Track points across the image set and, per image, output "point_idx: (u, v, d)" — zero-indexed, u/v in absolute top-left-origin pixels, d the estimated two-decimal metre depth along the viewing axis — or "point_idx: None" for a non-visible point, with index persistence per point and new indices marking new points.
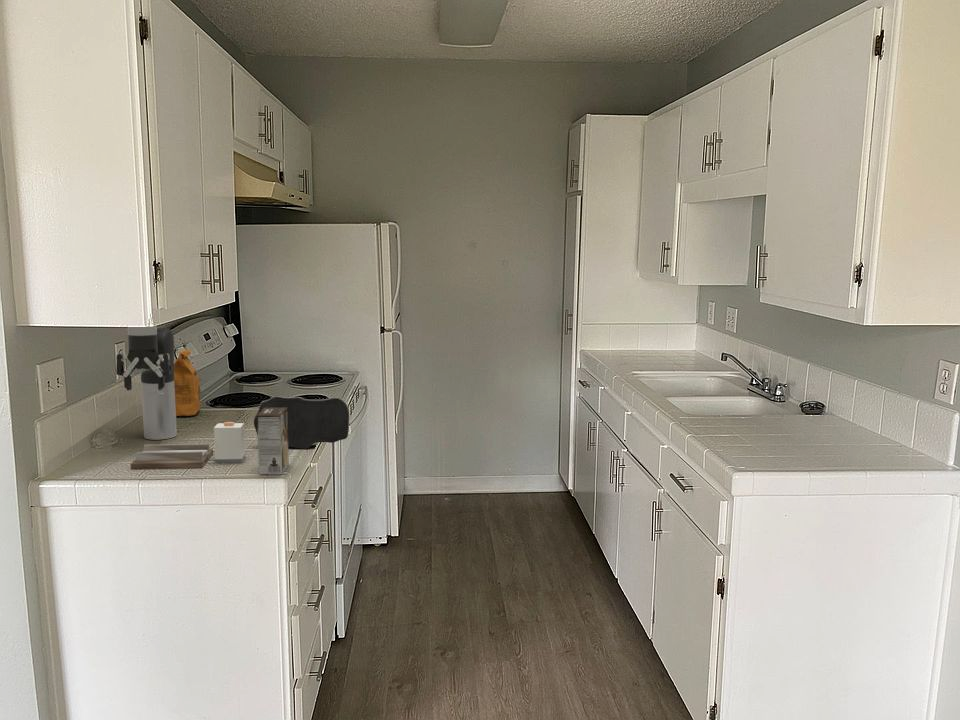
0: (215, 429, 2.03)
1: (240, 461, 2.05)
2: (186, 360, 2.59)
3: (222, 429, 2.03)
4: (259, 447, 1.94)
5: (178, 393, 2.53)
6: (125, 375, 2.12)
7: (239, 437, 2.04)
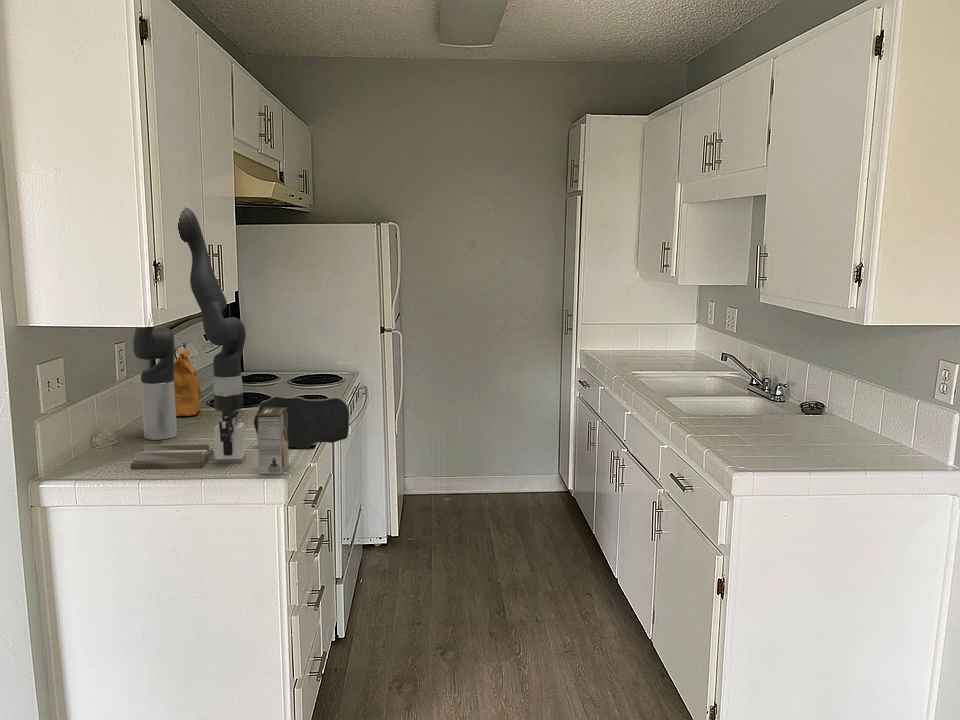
0: (215, 429, 2.03)
1: (240, 461, 2.05)
2: (186, 360, 2.59)
3: None
4: (259, 447, 1.94)
5: (178, 393, 2.53)
6: (232, 440, 2.03)
7: (239, 437, 2.04)
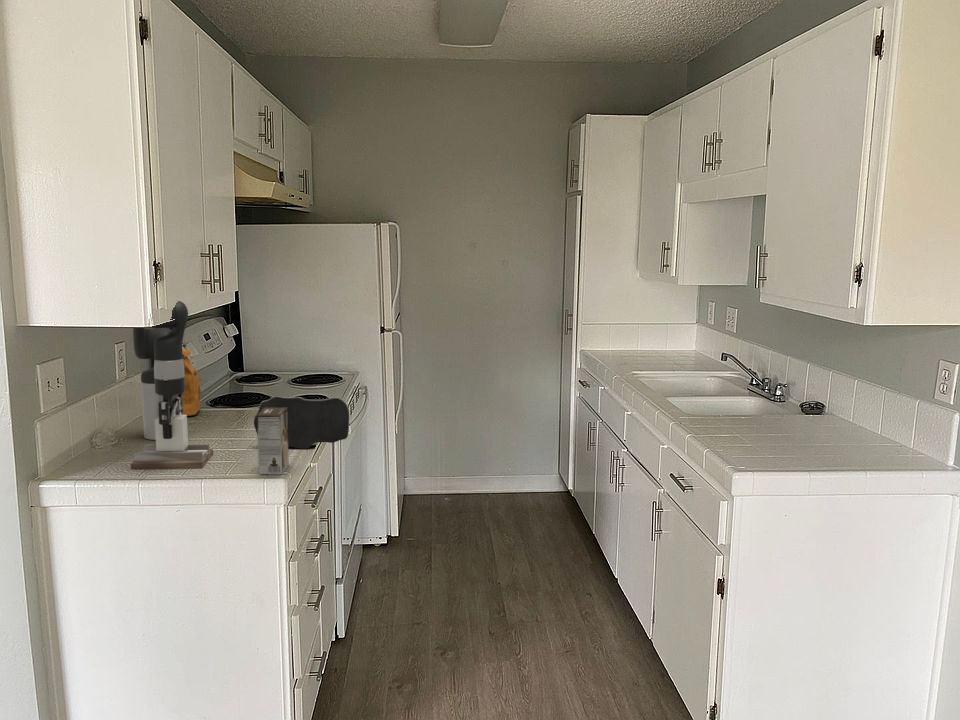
0: (156, 420, 2.00)
1: None
2: (186, 360, 2.59)
3: None
4: (259, 447, 1.94)
5: None
6: (171, 423, 1.99)
7: (181, 429, 2.02)
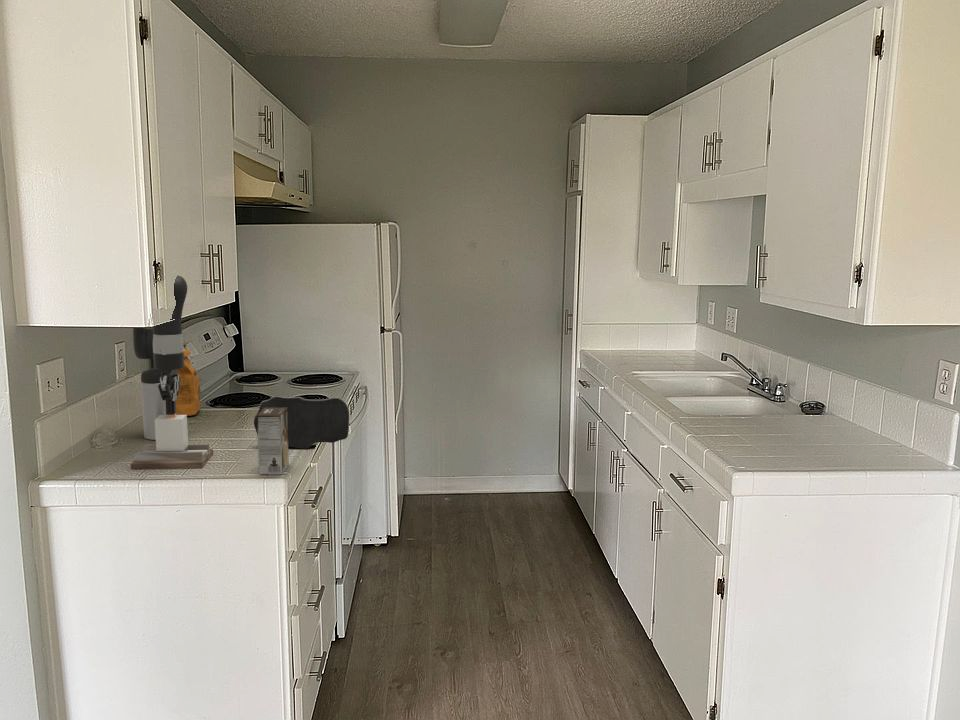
0: (156, 421, 2.00)
1: None
2: (186, 360, 2.59)
3: (163, 421, 2.01)
4: (259, 447, 1.94)
5: (178, 393, 2.53)
6: (174, 399, 2.02)
7: (181, 429, 2.02)
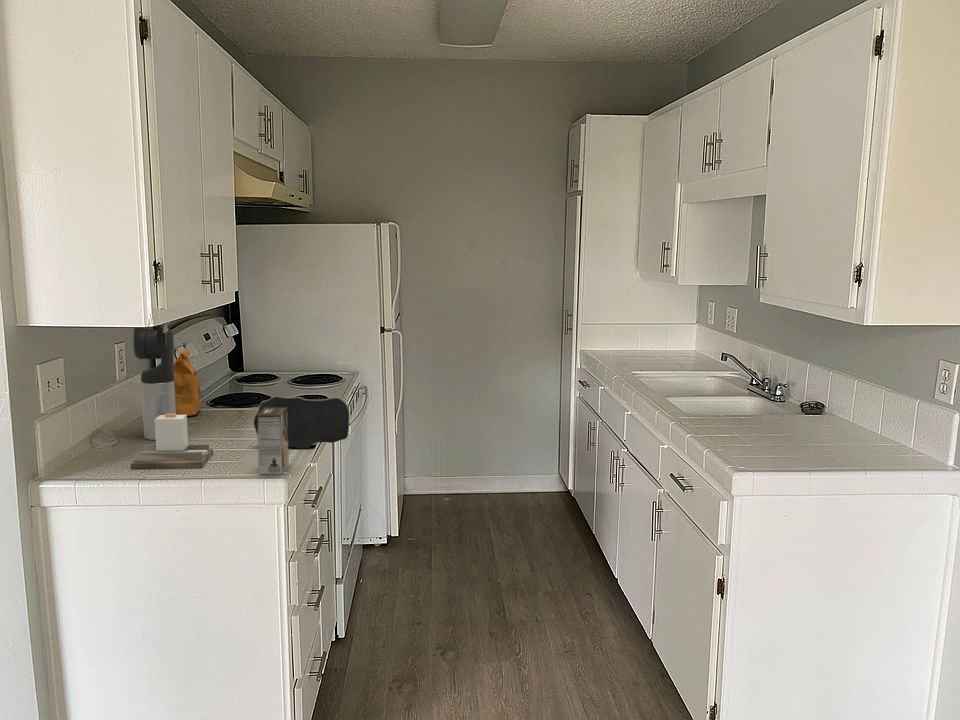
0: (156, 420, 2.00)
1: None
2: (186, 360, 2.59)
3: (163, 420, 2.01)
4: (259, 447, 1.94)
5: (178, 393, 2.53)
6: (165, 330, 2.04)
7: (181, 429, 2.02)
